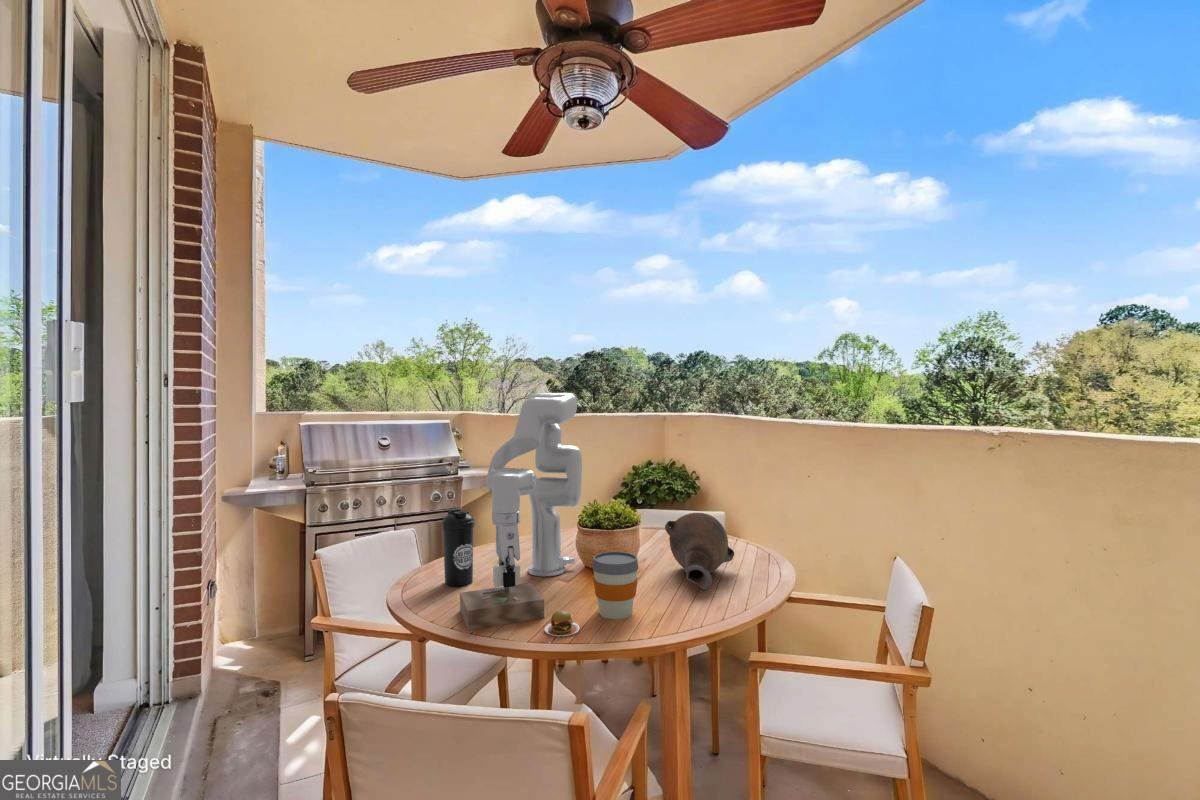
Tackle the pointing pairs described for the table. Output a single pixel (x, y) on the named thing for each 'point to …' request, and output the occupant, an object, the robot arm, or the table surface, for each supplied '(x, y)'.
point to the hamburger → (561, 623)
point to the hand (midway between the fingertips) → (506, 582)
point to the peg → (499, 578)
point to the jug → (699, 546)
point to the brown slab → (501, 606)
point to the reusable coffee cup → (615, 583)
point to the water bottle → (458, 548)
